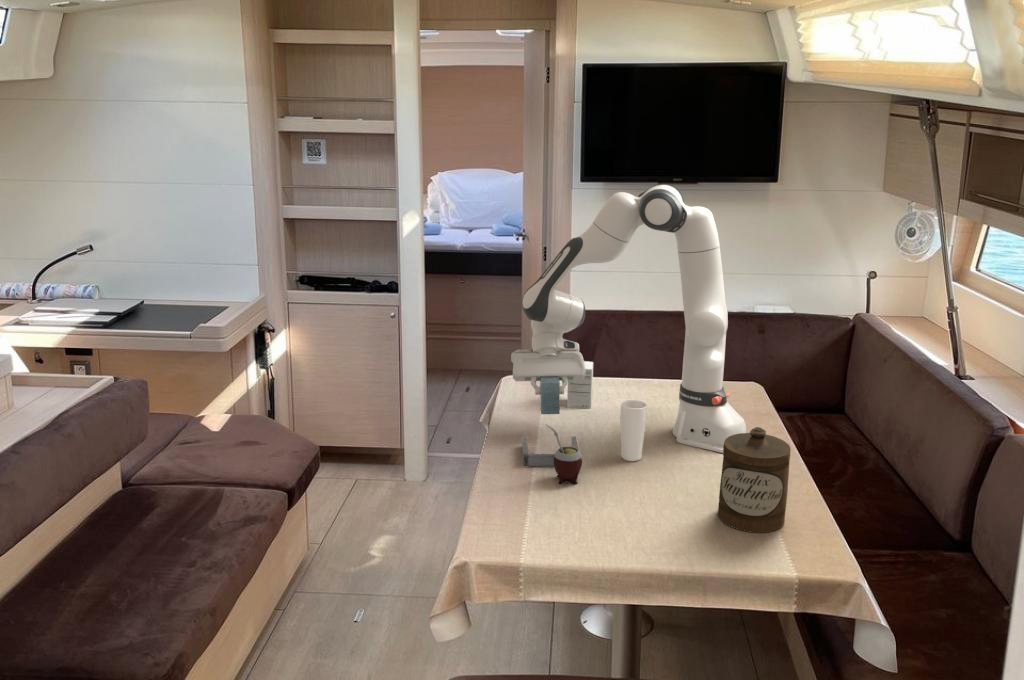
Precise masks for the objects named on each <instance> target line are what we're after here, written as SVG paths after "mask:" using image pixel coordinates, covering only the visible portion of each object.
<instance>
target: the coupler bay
mask: <svg viewBox="0 0 1024 680" xmlns="http://www.w3.org/2000/svg"><path fill="white" fill-rule="evenodd" d="M570 442H571V443H570V447H574V448H576V449H578V450H579V451H580V449H579V445H578V440H577V436H571V439H570ZM528 445H529V444H528V436H527V435H522V436H521V453H522V463H523V467H524V466H543V467H545V468H547V467H548V468H549V467H551V468H553V467H554V455H555V453H529V447H528ZM554 468H555V467H554Z"/></svg>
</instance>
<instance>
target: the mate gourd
mask: <svg viewBox="0 0 1024 680" xmlns="http://www.w3.org/2000/svg"><path fill="white" fill-rule="evenodd" d="M545 426H546V427H548V428H549V429H550V430H551V431H552V432H553V435H554V436H555V438H556V441H557V443H558V446H559V448H558V449H557V450H556V451H555V452H554V454H555V455H554V471H555V472H556V474H557V475H556V478H557V477H558V480H559V481H558V482H557V483H558V485H562V484H565V483H567V482H568V483H571V484H573V485H578V477H579V473H580V471H581V469H582V466H583V458H582V454H581V452H580V449H579V450H578V449H576V448H574V447H571V446H562V444H561V440H560V437H559V433H558V431H557V430H556V429H555V428H553V427H552V426H550V425H549V424H546V423H545Z"/></svg>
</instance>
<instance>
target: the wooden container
mask: <svg viewBox="0 0 1024 680" xmlns="http://www.w3.org/2000/svg"><path fill="white" fill-rule="evenodd" d="M722 455H723V457H722V466H721V475H720V476H721V477H720V482H719V483H720V484H719V494H718V505H717V507H718V509H717V515H718V518H719V519H721V520H720V521H721V522H722V521H723V522H722V523H723V524H725V523H726V524H725V525H727V526H728V525H730V526H733V527H735V528H738V529H741V530H740V531H742V530H745V531H744V532H747V531H751V532H750V533H756V532H762V533H770V532H774V531H777V530H779V529H781V528H782V527H783V526H784V524H785V518H786V509H787V500H788V499H787V498H788V488H789V475H790V473H789V472H790V459H791V446H790V445H789V443H788V442H786V441H784V440H783V439H781V438H779V437H776V436H773V435H770V434H767V431H766V430H765V429H763V428H762V427H759V426H756V427H754V428H752V429H751V430H750V432H746V433H740V434H735V435H732V436H729V437H728V438H726V439H725V441H724V447H723V453H722ZM730 526H729V527H730ZM733 527H732V528H733ZM780 527H781V528H780ZM735 528H734V529H735ZM738 529H737V530H738ZM773 530H774V531H773ZM769 531H770V532H769Z"/></svg>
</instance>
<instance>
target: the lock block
mask: <svg viewBox="0 0 1024 680" xmlns="http://www.w3.org/2000/svg"><path fill="white" fill-rule="evenodd" d="M560 382H561V381H559V377H558V376H556V377H540V381H539V387H541V395H539V409H540V414H541V415H560V399H561V397H560V396H561V394H560V386H561V385H560Z"/></svg>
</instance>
